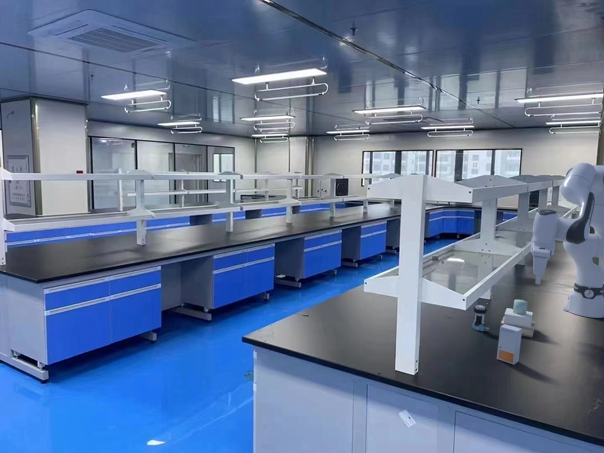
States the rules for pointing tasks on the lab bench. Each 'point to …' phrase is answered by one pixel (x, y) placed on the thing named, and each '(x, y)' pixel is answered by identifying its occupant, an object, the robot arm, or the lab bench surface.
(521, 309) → the pale blue egg shape
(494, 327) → the lab bench surface
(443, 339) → the lab bench surface
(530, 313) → the white top block
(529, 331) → the maple base block
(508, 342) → the skincare box
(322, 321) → the lab bench surface
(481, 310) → the push button
